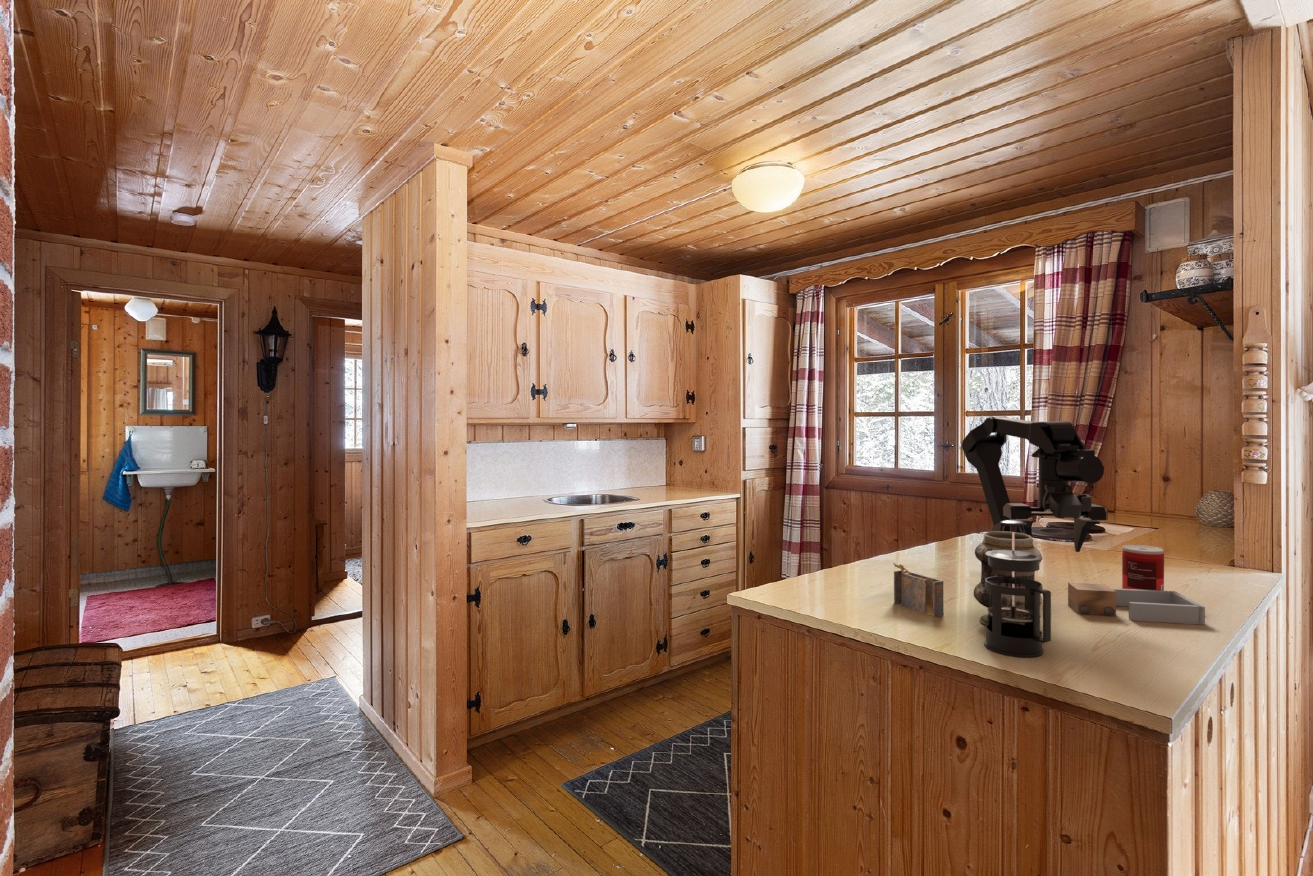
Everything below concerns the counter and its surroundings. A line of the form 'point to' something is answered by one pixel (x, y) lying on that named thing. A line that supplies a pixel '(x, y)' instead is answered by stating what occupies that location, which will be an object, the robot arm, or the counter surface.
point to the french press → (1013, 635)
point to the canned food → (1142, 567)
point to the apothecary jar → (1002, 542)
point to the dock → (1160, 606)
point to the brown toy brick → (1092, 598)
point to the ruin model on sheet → (918, 592)
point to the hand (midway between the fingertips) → (1053, 551)
